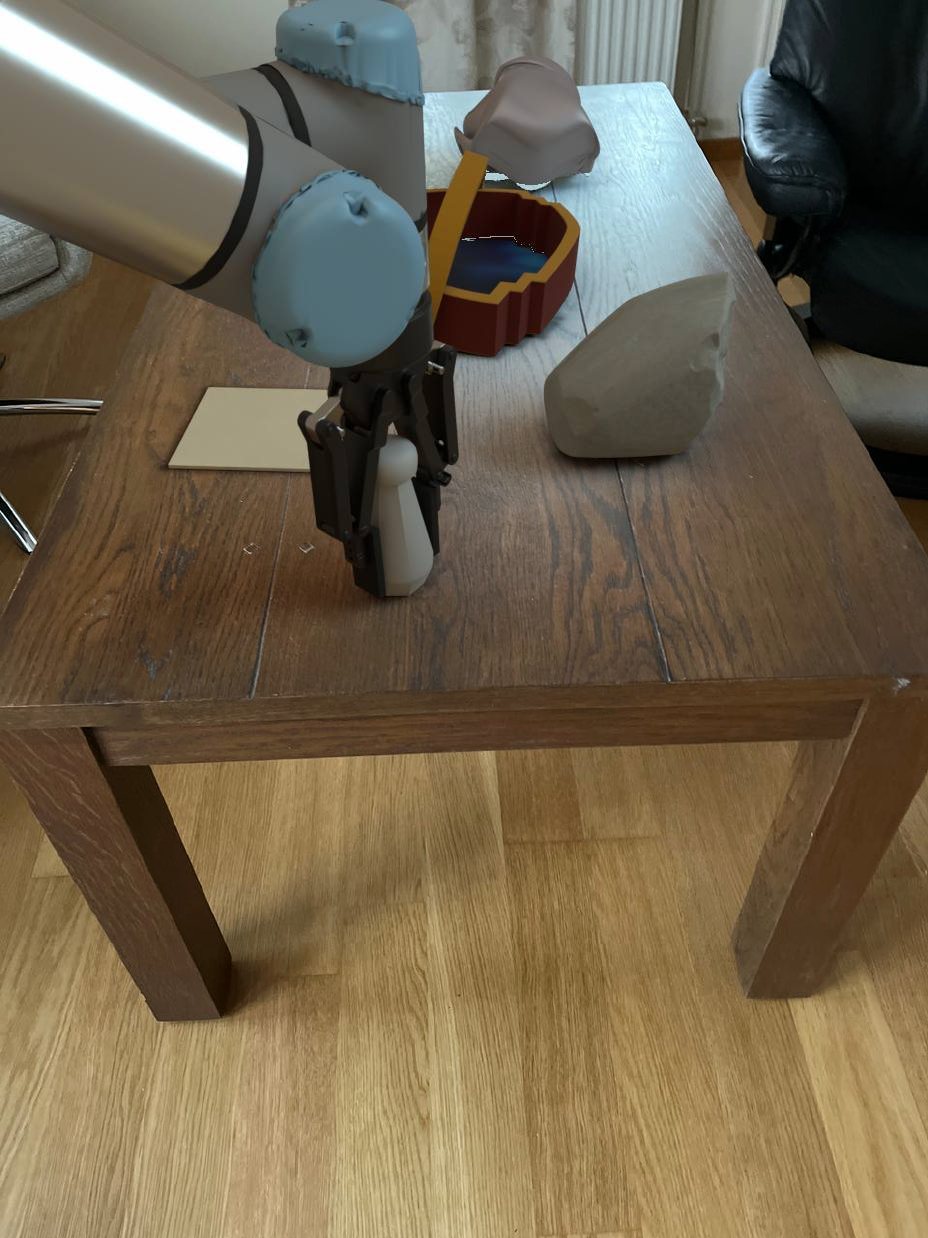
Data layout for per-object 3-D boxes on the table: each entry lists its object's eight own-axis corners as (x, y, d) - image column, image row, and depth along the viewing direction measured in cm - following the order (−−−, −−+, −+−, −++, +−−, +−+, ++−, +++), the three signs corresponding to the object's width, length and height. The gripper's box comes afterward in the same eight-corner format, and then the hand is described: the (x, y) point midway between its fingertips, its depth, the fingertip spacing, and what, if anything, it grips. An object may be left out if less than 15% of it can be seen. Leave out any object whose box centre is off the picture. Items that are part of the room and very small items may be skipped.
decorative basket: (542, 390, 102) (571, 254, 91) (284, 329, 104) (283, 189, 93) (583, 261, 126) (610, 142, 115) (373, 214, 128) (380, 93, 117)
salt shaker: (433, 604, 75) (424, 468, 66) (360, 605, 75) (342, 469, 66) (435, 556, 79) (428, 422, 70) (367, 557, 79) (351, 422, 70)
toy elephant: (458, 213, 135) (464, 107, 123) (449, 146, 145) (453, 42, 133) (596, 212, 137) (615, 109, 125) (577, 146, 147) (593, 44, 135)
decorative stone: (531, 415, 94) (536, 268, 84) (696, 395, 96) (721, 249, 86) (563, 486, 86) (572, 332, 75) (743, 462, 88) (777, 309, 77)
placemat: (315, 472, 88) (315, 468, 88) (168, 468, 89) (167, 464, 89) (341, 393, 98) (341, 389, 98) (209, 390, 99) (208, 386, 99)
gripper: (305, 370, 53) (349, 655, 69) (509, 256, 63) (506, 528, 79) (218, 331, 57) (279, 611, 73) (425, 229, 67) (438, 495, 83)
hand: (398, 567), depth 76 cm, fingers closed on salt shaker, 6 cm apart
